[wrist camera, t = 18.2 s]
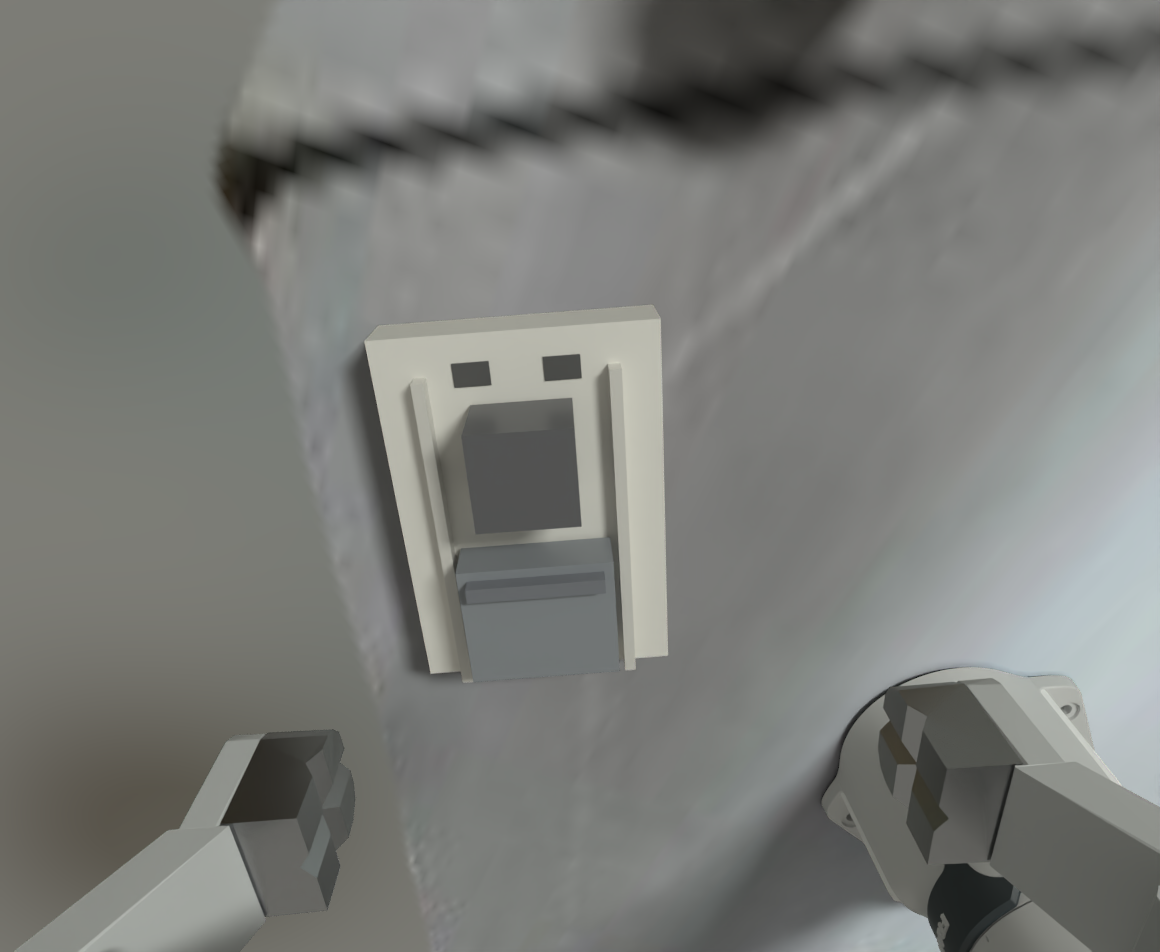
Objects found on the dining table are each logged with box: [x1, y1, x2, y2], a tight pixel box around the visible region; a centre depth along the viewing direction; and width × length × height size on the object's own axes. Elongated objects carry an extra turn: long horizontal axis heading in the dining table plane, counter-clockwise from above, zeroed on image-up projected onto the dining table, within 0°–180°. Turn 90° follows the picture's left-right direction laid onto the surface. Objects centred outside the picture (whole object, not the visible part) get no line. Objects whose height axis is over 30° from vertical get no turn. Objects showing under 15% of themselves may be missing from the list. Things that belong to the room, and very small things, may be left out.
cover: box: [455, 537, 620, 682], centre depth 39 cm, size 7×8×3 cm
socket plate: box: [364, 305, 668, 683], centre depth 40 cm, size 20×14×4 cm
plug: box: [461, 398, 582, 534], centre depth 37 cm, size 5×5×7 cm
